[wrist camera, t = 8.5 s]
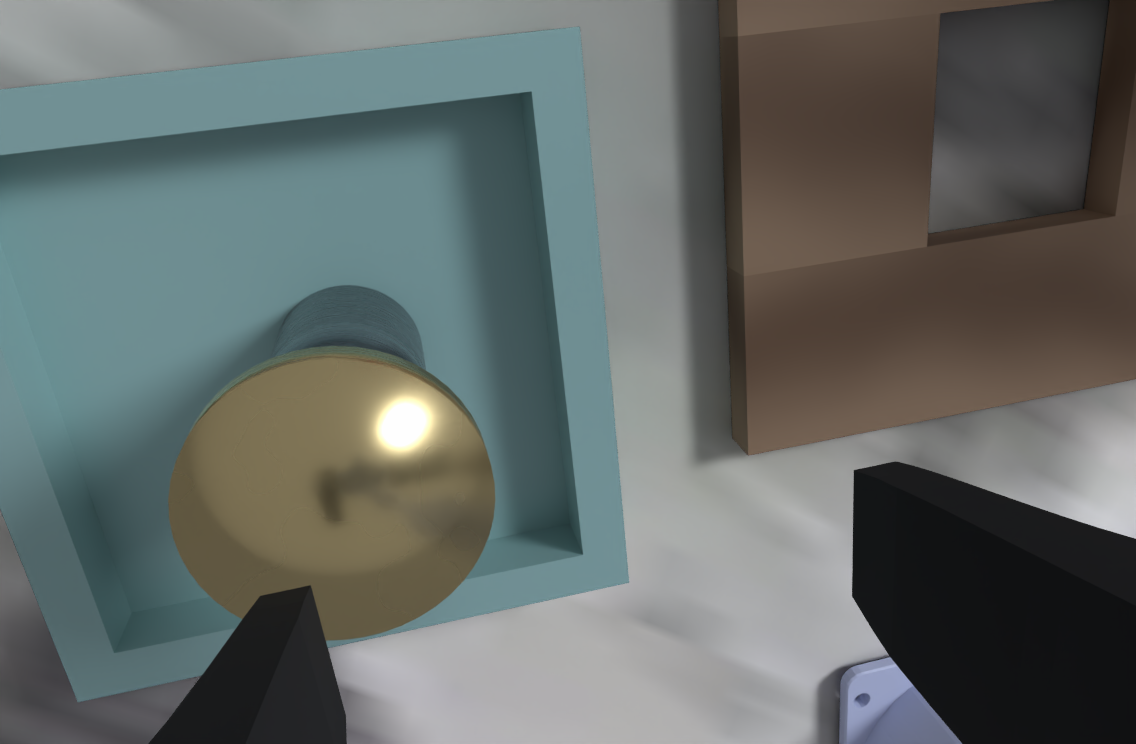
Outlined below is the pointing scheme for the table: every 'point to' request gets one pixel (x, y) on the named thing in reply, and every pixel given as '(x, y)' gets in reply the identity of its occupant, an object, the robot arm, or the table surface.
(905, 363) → the walnut socket
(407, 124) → the teal tray
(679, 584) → the table surface
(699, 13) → the table surface
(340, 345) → the gunmetal pin
